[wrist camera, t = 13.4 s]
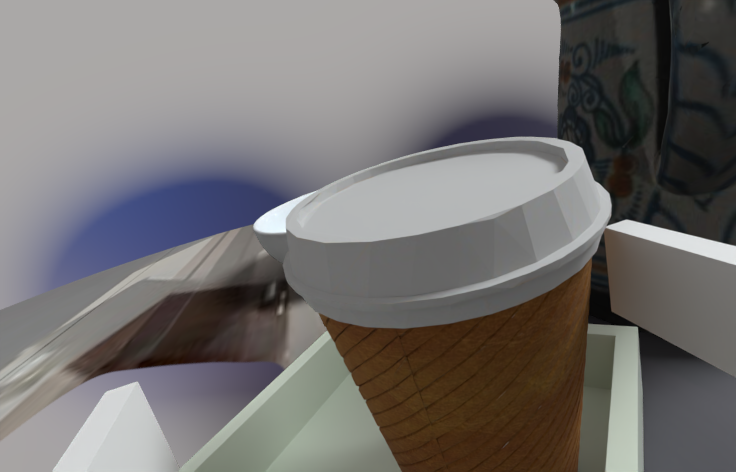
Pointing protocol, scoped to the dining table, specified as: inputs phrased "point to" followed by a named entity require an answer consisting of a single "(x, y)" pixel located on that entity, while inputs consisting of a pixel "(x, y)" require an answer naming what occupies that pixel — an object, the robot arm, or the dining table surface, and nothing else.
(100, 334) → the dining table surface
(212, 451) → the tray
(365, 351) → the disposable coffee cup
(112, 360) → the dining table surface
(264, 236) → the serving bowl
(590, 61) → the beer stein
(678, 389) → the dining table surface
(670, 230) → the robot arm
